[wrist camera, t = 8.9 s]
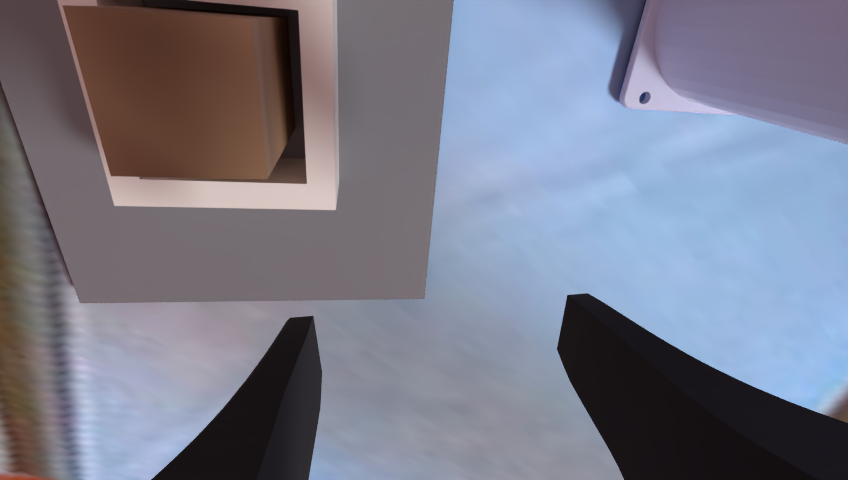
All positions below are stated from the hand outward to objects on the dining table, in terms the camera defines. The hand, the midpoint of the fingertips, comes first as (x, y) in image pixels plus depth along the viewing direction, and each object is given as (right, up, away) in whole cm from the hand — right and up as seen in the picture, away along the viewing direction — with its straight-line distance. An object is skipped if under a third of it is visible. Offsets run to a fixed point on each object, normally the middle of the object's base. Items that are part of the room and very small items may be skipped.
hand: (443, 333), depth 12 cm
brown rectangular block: (-8, +9, +4) cm, 12 cm away
